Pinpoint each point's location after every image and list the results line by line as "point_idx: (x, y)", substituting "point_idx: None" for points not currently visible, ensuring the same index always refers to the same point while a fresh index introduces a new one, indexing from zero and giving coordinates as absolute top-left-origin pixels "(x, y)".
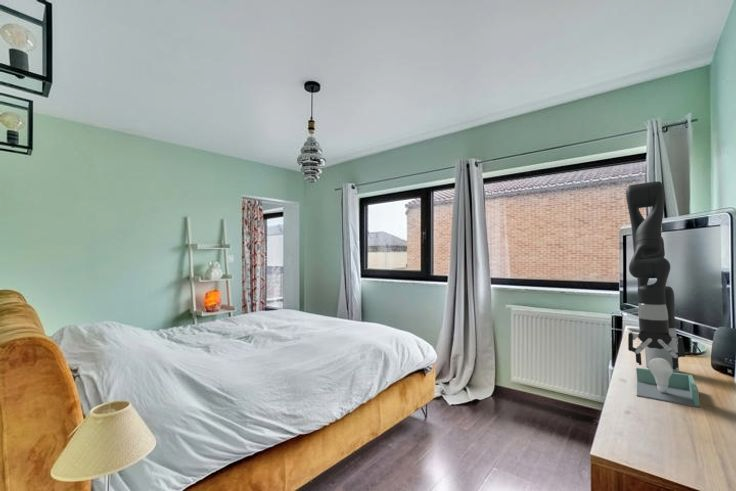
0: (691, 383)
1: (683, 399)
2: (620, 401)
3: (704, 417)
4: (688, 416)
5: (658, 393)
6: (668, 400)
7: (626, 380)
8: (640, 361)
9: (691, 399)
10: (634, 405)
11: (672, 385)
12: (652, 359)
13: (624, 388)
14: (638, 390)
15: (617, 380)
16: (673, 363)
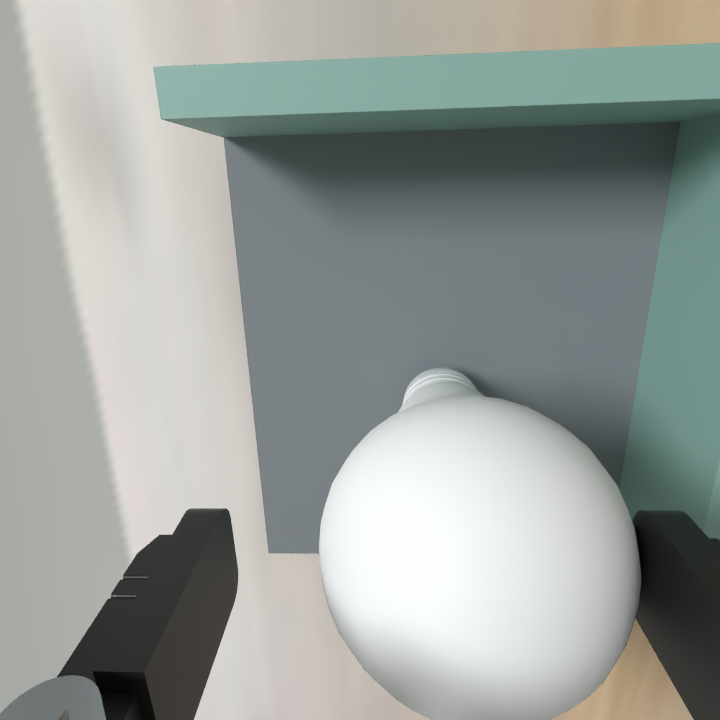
0: (714, 491)
1: None
2: None
3: (607, 689)
4: None
5: None
6: None
7: (128, 127)
8: (211, 642)
9: (617, 443)
10: (277, 701)
11: (542, 123)
12: (377, 650)
13: (169, 414)
14: (267, 444)
15: (62, 190)
16: (684, 678)
